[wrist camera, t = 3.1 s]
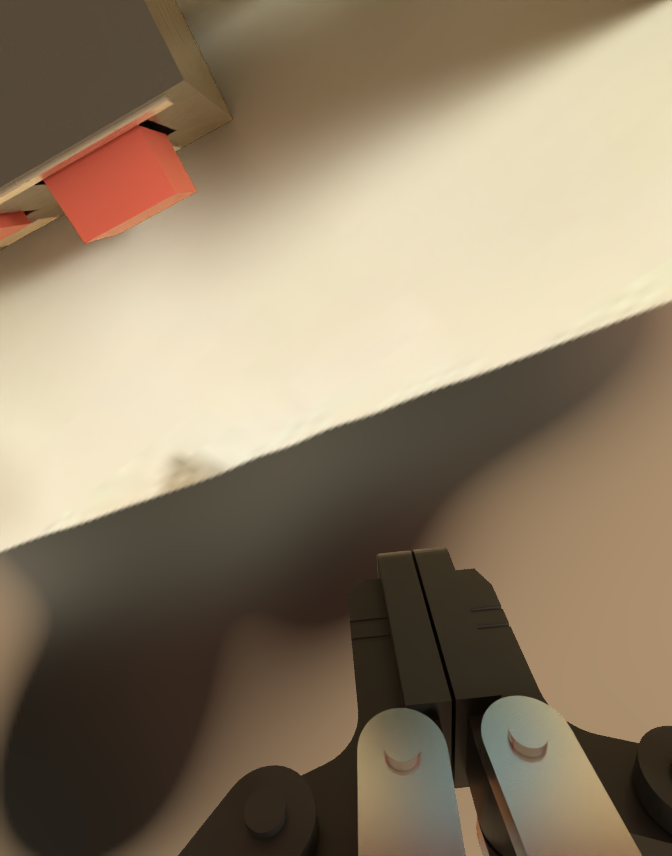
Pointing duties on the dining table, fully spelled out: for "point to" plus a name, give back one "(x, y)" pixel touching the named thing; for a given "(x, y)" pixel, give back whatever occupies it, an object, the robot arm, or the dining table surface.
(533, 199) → the dining table surface
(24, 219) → the rocker outlet
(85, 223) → the rocker outlet
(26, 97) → the dark grey switch housing
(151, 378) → the dining table surface
